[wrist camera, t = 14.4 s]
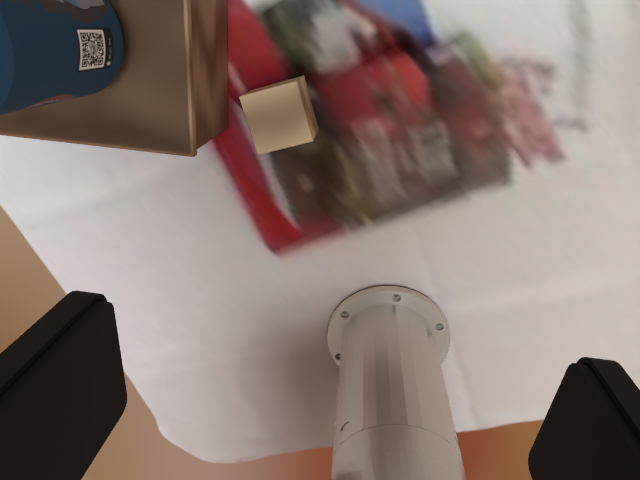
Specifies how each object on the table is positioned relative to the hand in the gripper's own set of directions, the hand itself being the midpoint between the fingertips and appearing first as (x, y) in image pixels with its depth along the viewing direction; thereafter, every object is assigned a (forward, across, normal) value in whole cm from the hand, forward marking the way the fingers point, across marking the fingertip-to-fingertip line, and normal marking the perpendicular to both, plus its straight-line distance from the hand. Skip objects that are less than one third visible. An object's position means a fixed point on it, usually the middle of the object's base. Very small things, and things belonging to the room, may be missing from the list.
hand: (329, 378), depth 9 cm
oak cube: (+30, +6, 0) cm, 31 cm away
